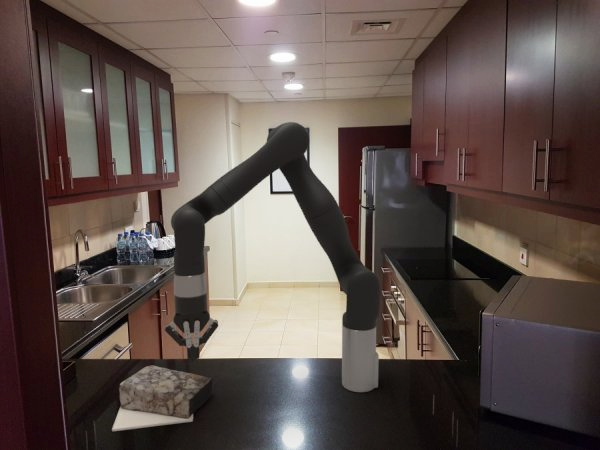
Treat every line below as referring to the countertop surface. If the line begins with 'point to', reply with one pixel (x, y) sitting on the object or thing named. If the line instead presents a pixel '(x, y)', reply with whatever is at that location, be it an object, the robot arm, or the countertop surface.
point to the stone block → (165, 391)
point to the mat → (144, 419)
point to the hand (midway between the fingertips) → (193, 360)
